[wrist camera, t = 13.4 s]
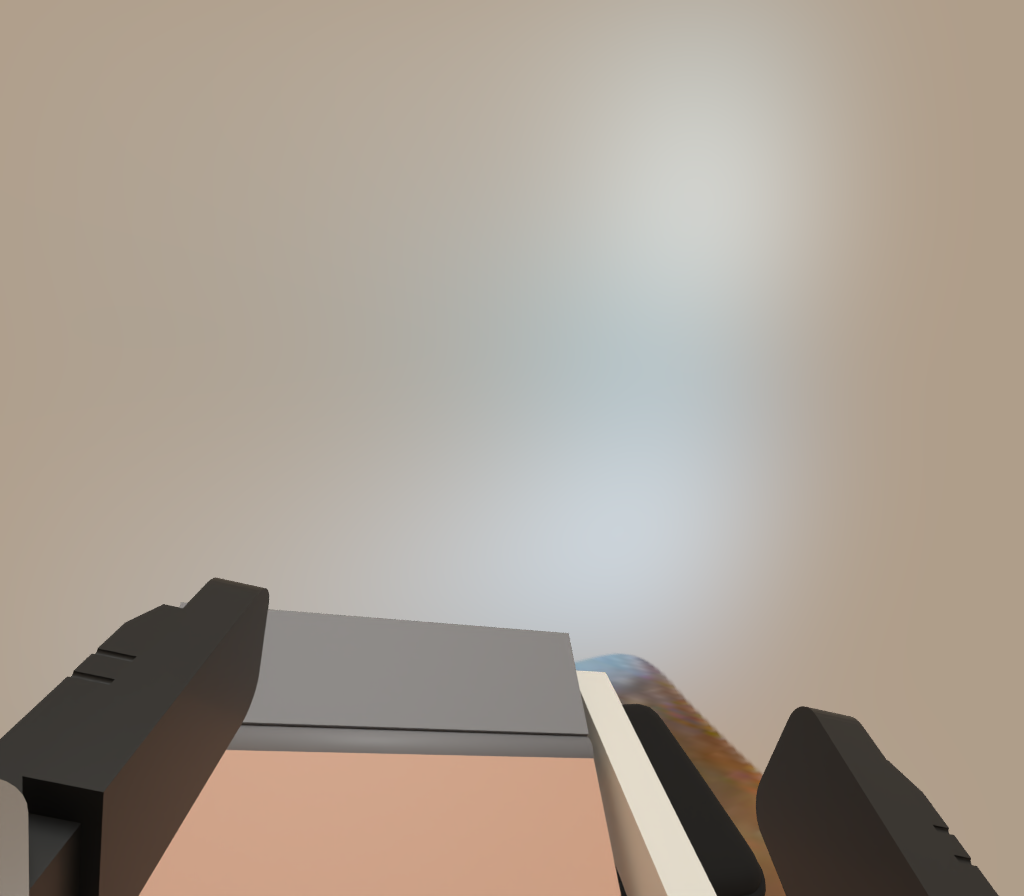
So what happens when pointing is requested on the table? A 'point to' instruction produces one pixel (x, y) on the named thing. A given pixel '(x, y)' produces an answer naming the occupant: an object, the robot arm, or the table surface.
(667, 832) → the trapdoor stand
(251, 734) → the trapdoor
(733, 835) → the carrying case or bag
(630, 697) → the table surface
